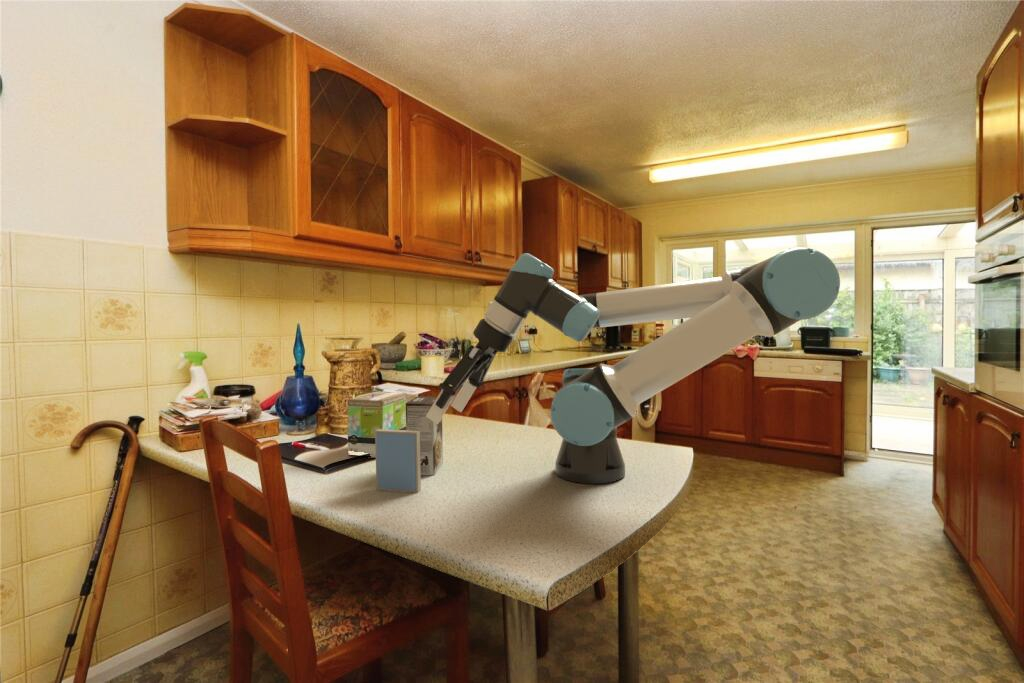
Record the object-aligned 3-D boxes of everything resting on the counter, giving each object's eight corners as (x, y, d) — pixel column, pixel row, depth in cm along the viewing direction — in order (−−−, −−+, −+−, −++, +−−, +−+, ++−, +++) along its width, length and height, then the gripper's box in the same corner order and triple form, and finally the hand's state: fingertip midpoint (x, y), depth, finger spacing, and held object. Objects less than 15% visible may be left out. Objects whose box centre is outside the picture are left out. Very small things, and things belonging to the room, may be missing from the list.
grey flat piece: (420, 490, 97) (419, 430, 97) (417, 492, 96) (416, 432, 95) (379, 487, 99) (378, 429, 99) (375, 490, 98) (374, 430, 97)
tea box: (383, 458, 121) (382, 399, 120) (346, 456, 123) (345, 398, 122) (408, 443, 135) (407, 391, 135) (375, 442, 137) (374, 390, 137)
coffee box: (417, 463, 116) (416, 396, 116) (443, 463, 116) (442, 396, 115) (405, 475, 107) (404, 402, 106) (434, 475, 106) (433, 402, 106)
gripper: (498, 318, 110) (451, 395, 113) (462, 315, 85) (403, 414, 88) (526, 336, 108) (477, 414, 111) (497, 338, 84) (436, 437, 87)
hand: (444, 414), depth 100 cm, fingers open, 13 cm apart
